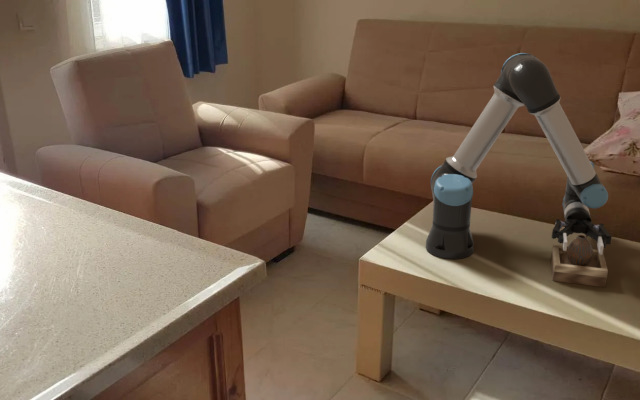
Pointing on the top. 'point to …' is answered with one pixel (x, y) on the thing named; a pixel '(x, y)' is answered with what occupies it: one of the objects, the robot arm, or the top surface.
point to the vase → (580, 251)
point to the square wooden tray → (578, 269)
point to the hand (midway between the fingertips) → (583, 248)
